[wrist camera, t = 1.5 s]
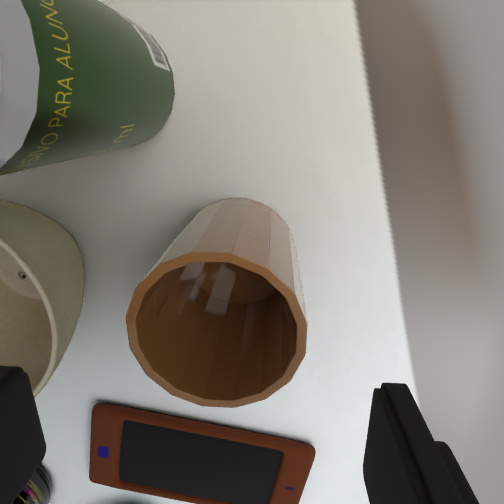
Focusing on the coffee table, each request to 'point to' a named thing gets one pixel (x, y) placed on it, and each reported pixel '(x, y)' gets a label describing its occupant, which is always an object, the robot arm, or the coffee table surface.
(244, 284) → the wooden cup
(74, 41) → the beer can
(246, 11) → the coffee table surface
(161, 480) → the smartphone
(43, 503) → the supplement container
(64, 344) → the flower pot
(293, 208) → the coffee table surface
